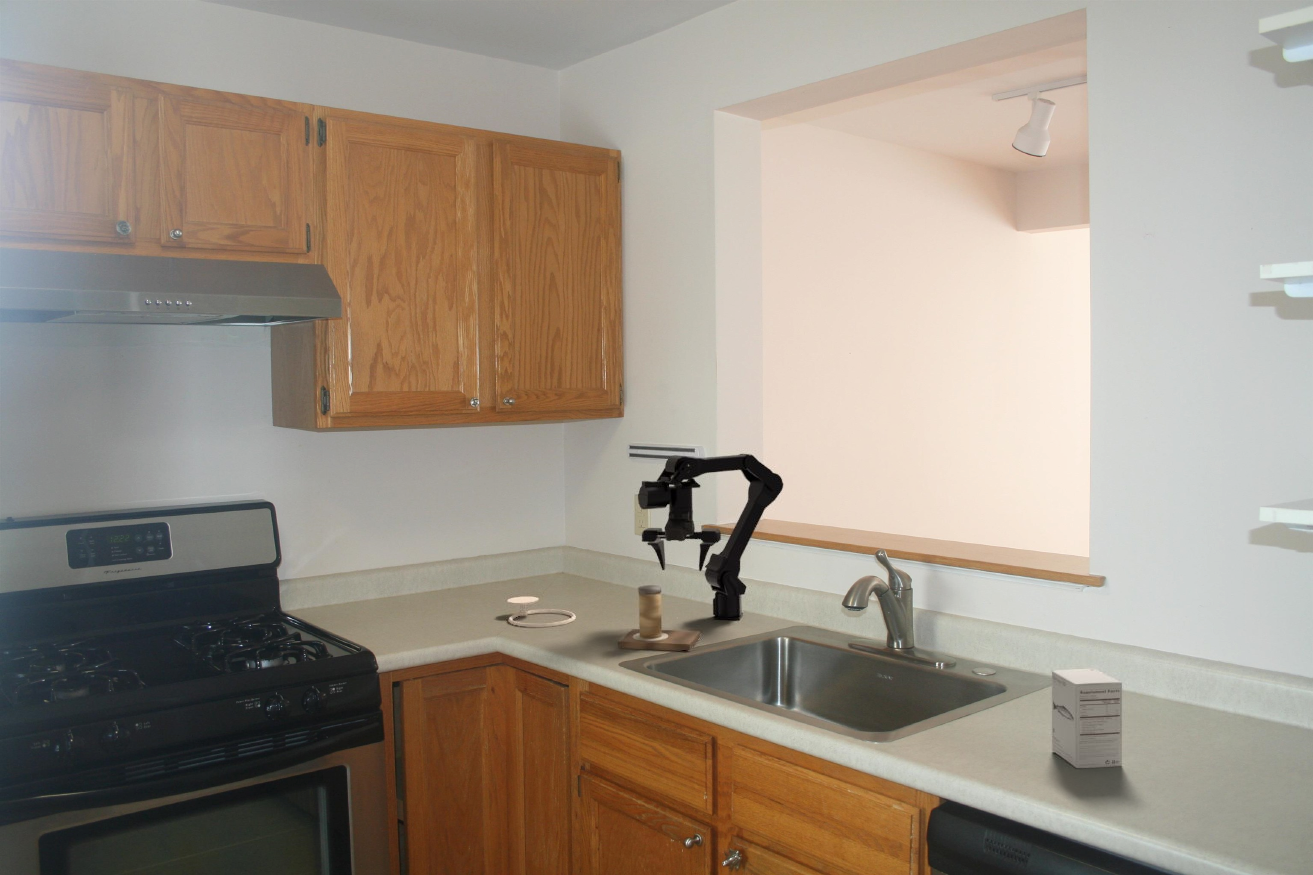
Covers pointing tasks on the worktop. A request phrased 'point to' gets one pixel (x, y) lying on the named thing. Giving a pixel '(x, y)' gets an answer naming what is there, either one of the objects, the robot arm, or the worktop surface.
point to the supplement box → (1087, 718)
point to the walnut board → (661, 640)
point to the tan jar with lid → (650, 612)
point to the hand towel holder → (530, 600)
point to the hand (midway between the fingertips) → (681, 570)
